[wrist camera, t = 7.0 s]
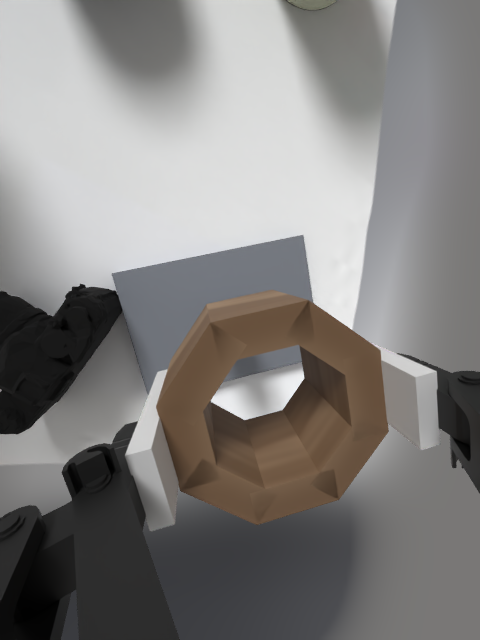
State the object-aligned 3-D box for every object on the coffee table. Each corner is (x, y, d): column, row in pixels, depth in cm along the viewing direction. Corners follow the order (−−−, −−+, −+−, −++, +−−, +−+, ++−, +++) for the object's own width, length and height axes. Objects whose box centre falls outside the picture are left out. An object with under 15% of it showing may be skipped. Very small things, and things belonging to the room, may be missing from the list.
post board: (151, 395, 32) (128, 458, 21) (115, 273, 29) (68, 277, 18) (316, 353, 34) (369, 393, 23) (299, 236, 31) (351, 220, 20)
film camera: (51, 244, 27) (-18, 234, 19) (136, 302, 30) (110, 317, 21) (-34, 365, 28) (-137, 409, 20) (55, 412, 30) (-1, 471, 22)
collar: (196, 457, 16) (195, 543, 11) (158, 314, 14) (136, 339, 9) (336, 419, 16) (393, 483, 12) (316, 279, 15) (374, 285, 10)
